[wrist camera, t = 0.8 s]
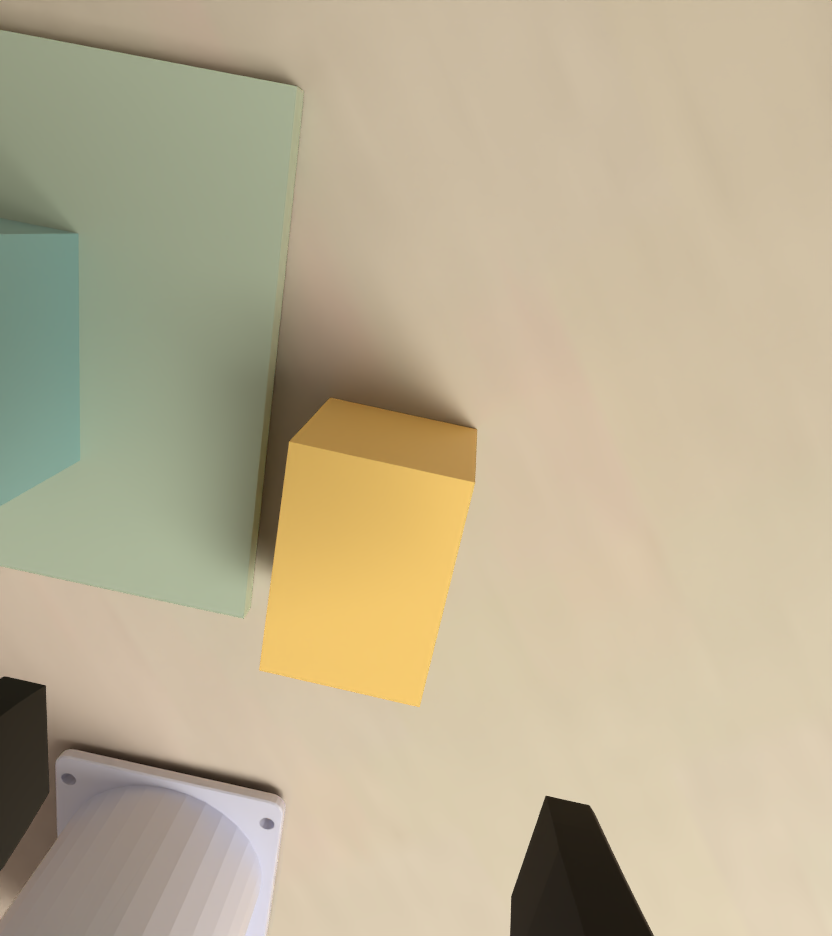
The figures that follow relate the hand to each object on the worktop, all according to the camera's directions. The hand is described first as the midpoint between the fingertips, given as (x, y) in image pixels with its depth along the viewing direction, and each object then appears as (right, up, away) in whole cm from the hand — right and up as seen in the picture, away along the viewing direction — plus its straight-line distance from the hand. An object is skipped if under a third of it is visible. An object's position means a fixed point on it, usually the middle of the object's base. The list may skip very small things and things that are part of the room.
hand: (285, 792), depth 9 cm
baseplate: (-9, +8, +8) cm, 15 cm away
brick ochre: (+1, +3, +9) cm, 10 cm away
